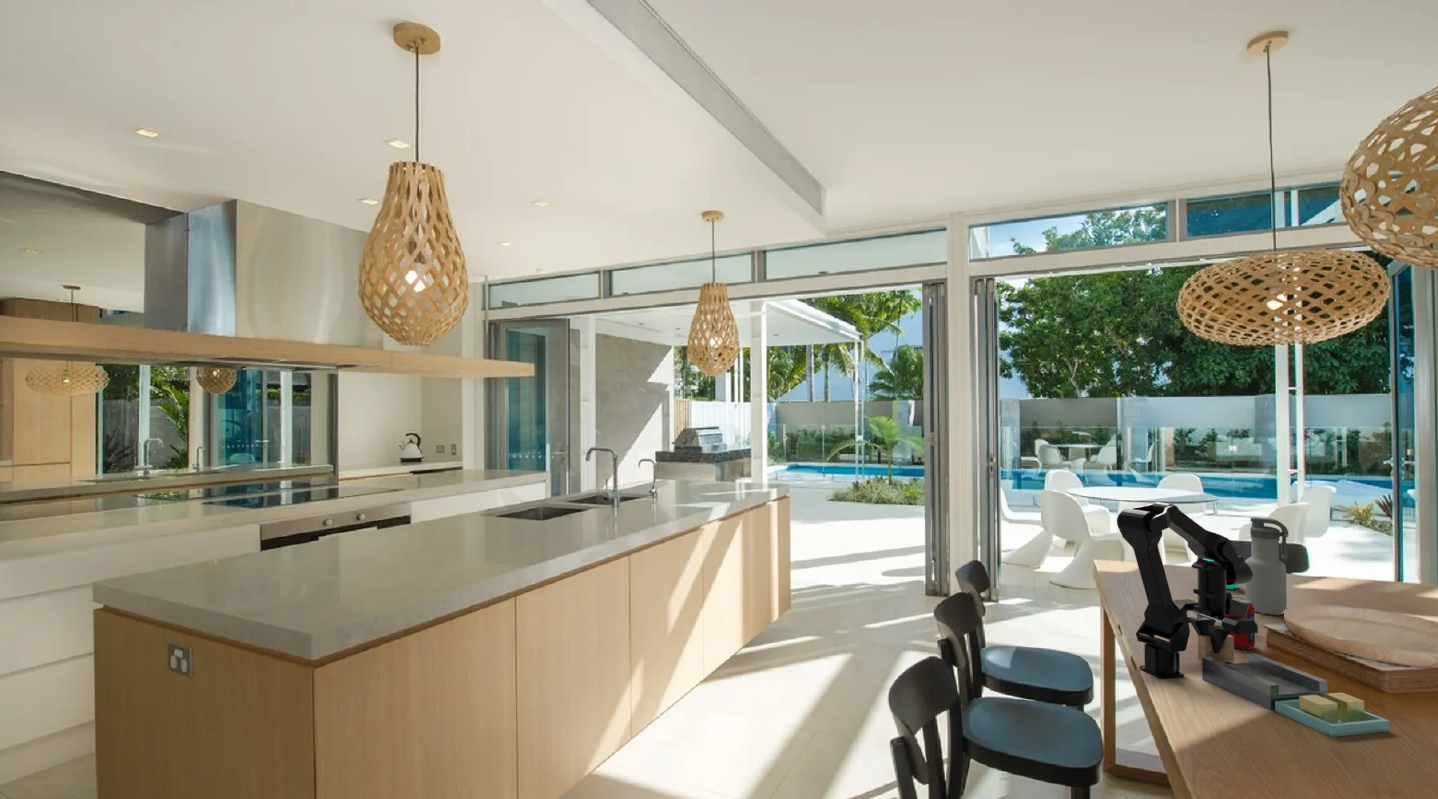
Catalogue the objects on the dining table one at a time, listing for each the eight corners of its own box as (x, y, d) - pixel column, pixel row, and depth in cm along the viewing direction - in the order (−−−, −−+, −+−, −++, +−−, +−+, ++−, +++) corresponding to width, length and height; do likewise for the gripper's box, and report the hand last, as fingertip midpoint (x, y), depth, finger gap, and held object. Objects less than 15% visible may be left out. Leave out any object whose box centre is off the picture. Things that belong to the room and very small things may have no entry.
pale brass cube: (1299, 716, 134) (1320, 725, 131) (1299, 696, 135) (1320, 704, 131) (1316, 714, 135) (1337, 724, 131) (1316, 694, 135) (1337, 703, 131)
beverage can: (1260, 651, 172) (1260, 604, 172) (1230, 649, 173) (1230, 602, 173) (1245, 642, 178) (1245, 596, 178) (1216, 640, 180) (1216, 595, 180)
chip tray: (1332, 737, 127) (1332, 726, 127) (1275, 711, 138) (1275, 701, 138) (1389, 731, 129) (1388, 720, 129) (1328, 706, 140) (1328, 696, 140)
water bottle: (1285, 609, 207) (1284, 518, 207) (1291, 618, 198) (1290, 522, 199) (1243, 604, 212) (1242, 515, 213) (1247, 612, 204) (1246, 519, 204)
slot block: (1270, 710, 138) (1270, 685, 138) (1202, 679, 154) (1202, 657, 154) (1327, 705, 141) (1327, 680, 141) (1254, 675, 156) (1254, 653, 157)
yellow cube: (1325, 714, 136) (1347, 723, 132) (1325, 693, 136) (1347, 702, 132) (1342, 712, 136) (1364, 721, 132) (1342, 692, 136) (1364, 700, 132)
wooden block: (1205, 663, 162) (1205, 638, 162) (1198, 660, 164) (1198, 635, 164) (1233, 661, 164) (1233, 636, 164) (1226, 658, 166) (1226, 633, 166)
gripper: (1277, 595, 156) (1278, 663, 156) (1206, 576, 175) (1207, 636, 174) (1236, 598, 154) (1237, 666, 154) (1169, 577, 173) (1169, 639, 173)
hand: (1212, 651), depth 164 cm, fingers closed on wooden block, 2 cm apart
